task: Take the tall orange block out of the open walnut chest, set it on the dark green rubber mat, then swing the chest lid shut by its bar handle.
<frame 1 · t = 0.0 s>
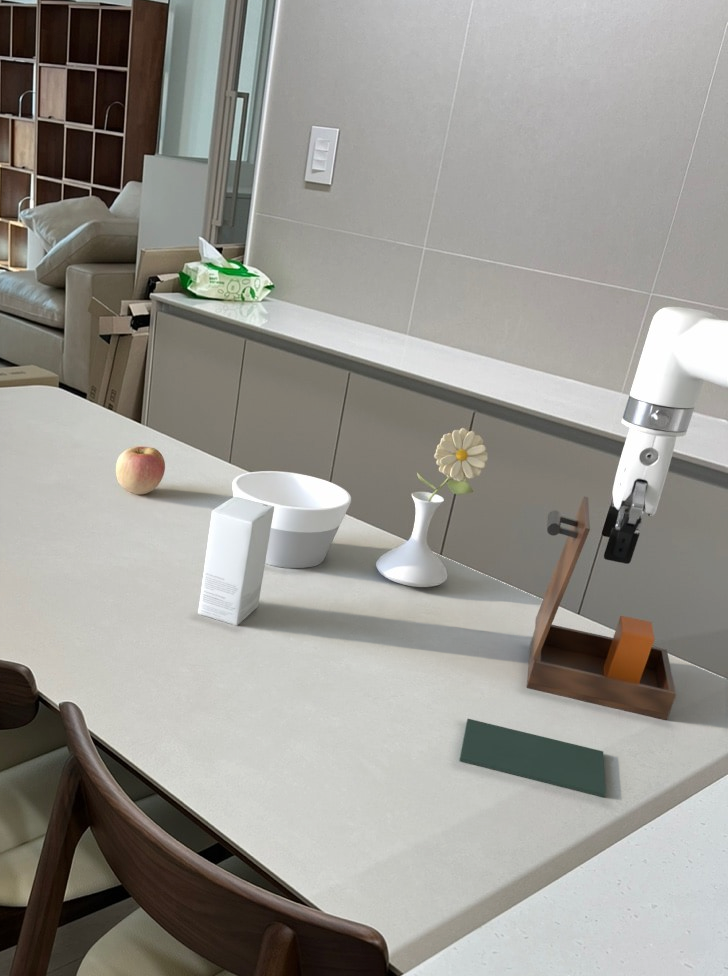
hand: (614, 548, 136), 18 cm above the table, tool pointing down, fingers open, 9 cm apart
lid: (546, 572, 140), point 13 cm above the table, hinge at 85.0°
apple: (137, 492, 194), on the table
chest: (594, 680, 144), on the table
orange block: (619, 680, 143), point 1 cm above the table, touching chest
mat: (532, 757, 123), on the table
bowl: (281, 553, 175), on the table
cosmetic box: (229, 612, 151), on the table
flower in vase: (414, 581, 170), on the table
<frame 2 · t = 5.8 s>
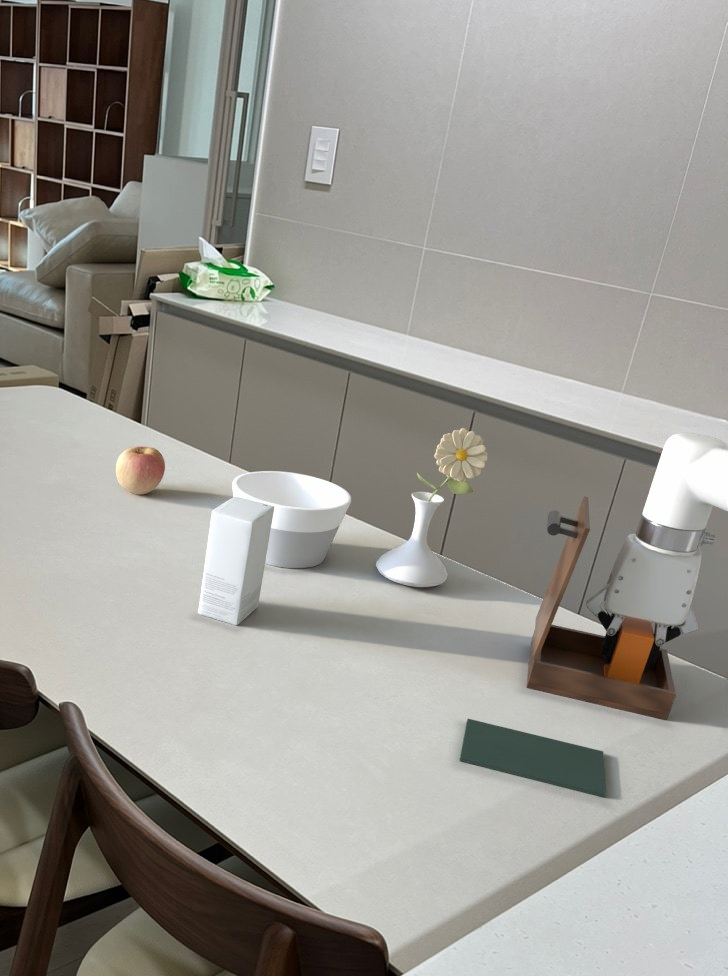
hand: (625, 662, 141), 4 cm above the table, tool pointing down, fingers closed on orange block, 4 cm apart
orange block: (619, 680, 143), point 1 cm above the table, touching chest, gripper
everything else where it was.
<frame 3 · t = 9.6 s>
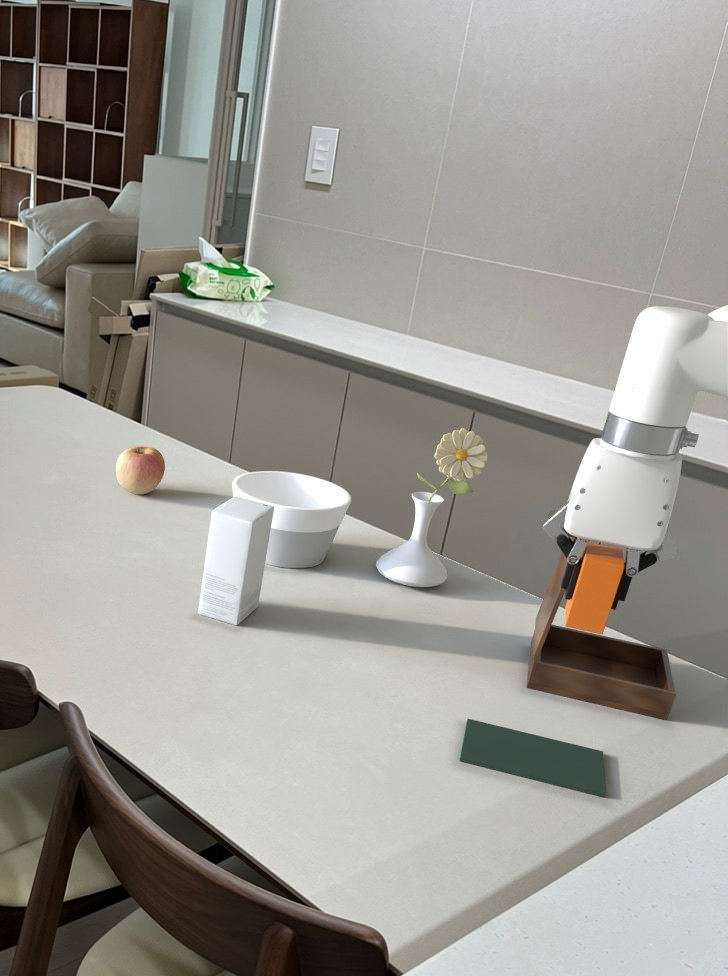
hand: (590, 598, 116), 19 cm above the table, tool pointing down, fingers closed on orange block, 4 cm apart
orange block: (583, 620, 118), point 17 cm above the table, touching gripper
everything else where it was.
when the fingers open (3 cm above the table, at t = 13.8 s): orange block stays where it is, resting on mat.
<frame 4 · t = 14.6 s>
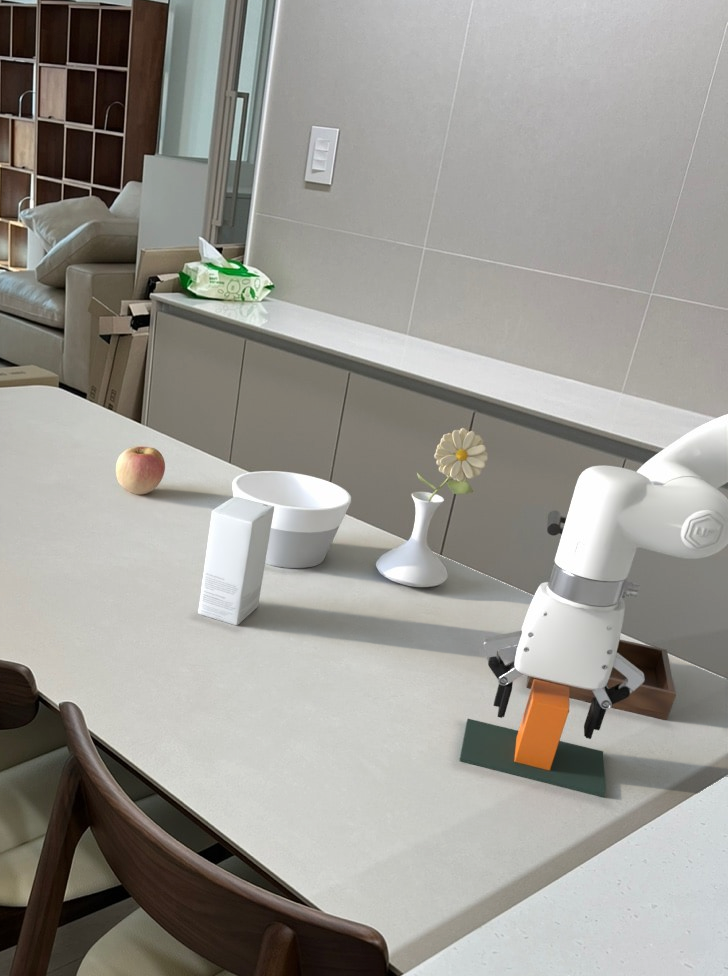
hand: (543, 722, 121), 5 cm above the table, tool pointing down, fingers open, 9 cm apart
orange block: (532, 754, 123), resting on mat
everything else where it was.
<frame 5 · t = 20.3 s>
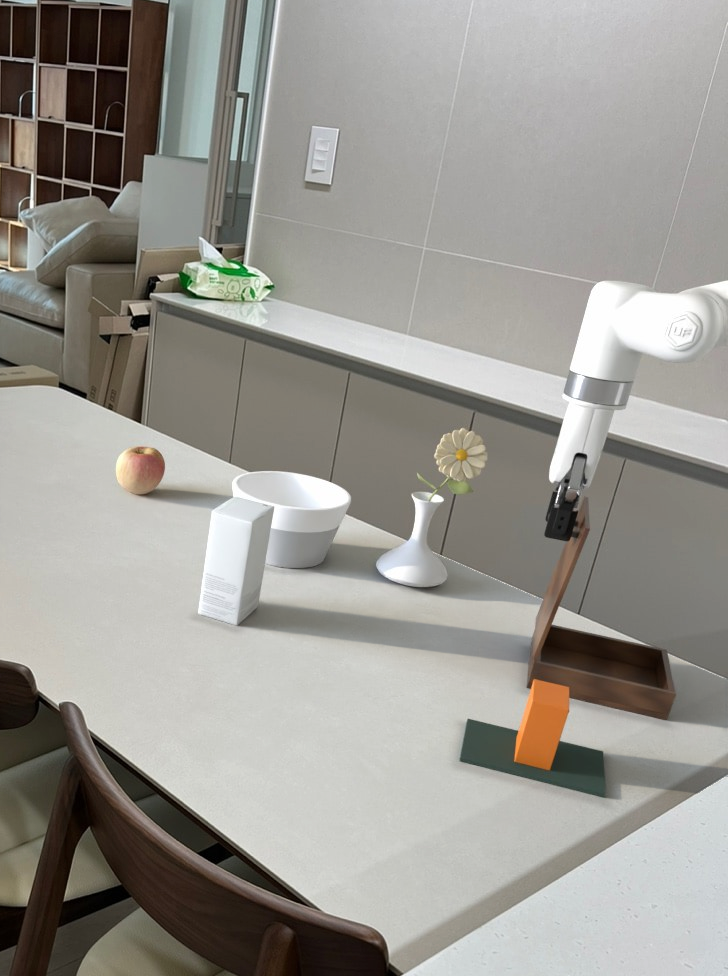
hand: (557, 529, 137), 19 cm above the table, tool pointing down, fingers closed on lid, 6 cm apart
lid: (546, 572, 140), point 13 cm above the table, hinge at 85.0°, touching gripper
everything else where it was.
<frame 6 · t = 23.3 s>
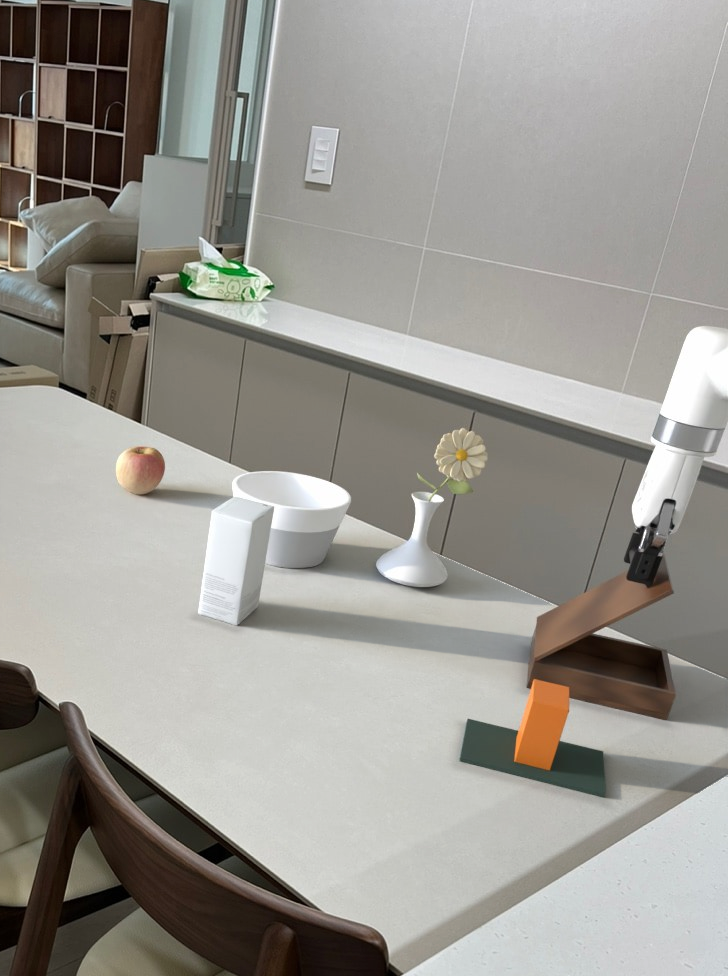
hand: (637, 571, 136), 16 cm above the table, tool pointing down, fingers closed on lid, 6 cm apart
lid: (592, 594, 139), point 12 cm above the table, hinge at 44.0°, touching gripper
everything else where it was.
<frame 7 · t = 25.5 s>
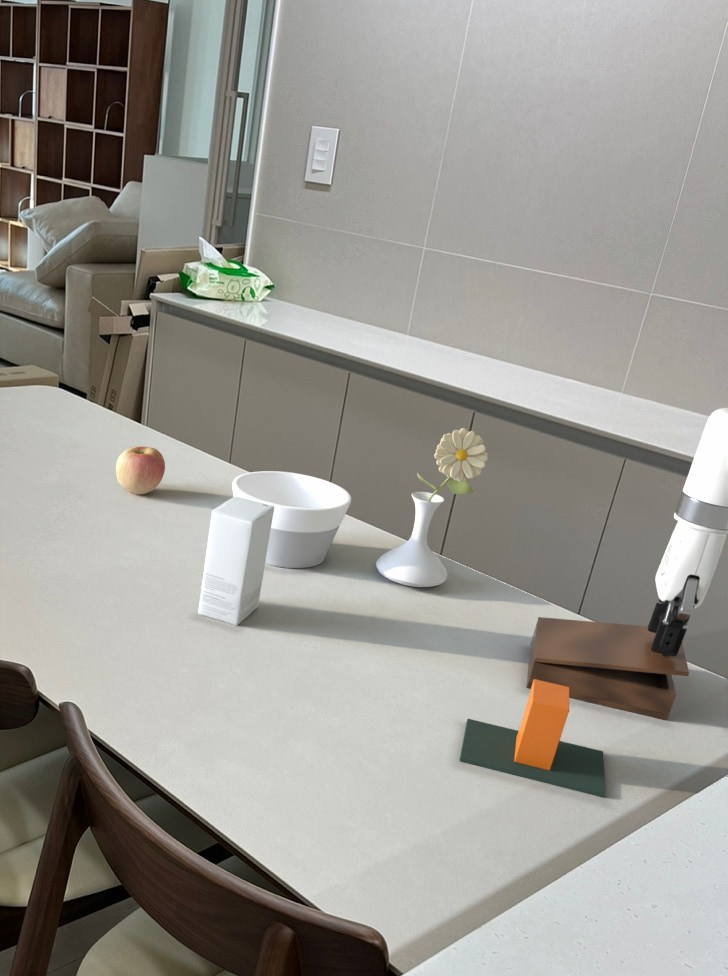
hand: (661, 641, 139), 7 cm above the table, tool pointing down, fingers closed on lid, 6 cm apart
lid: (610, 631, 140), point 7 cm above the table, hinge at 8.3°, touching gripper
everything else where it was.
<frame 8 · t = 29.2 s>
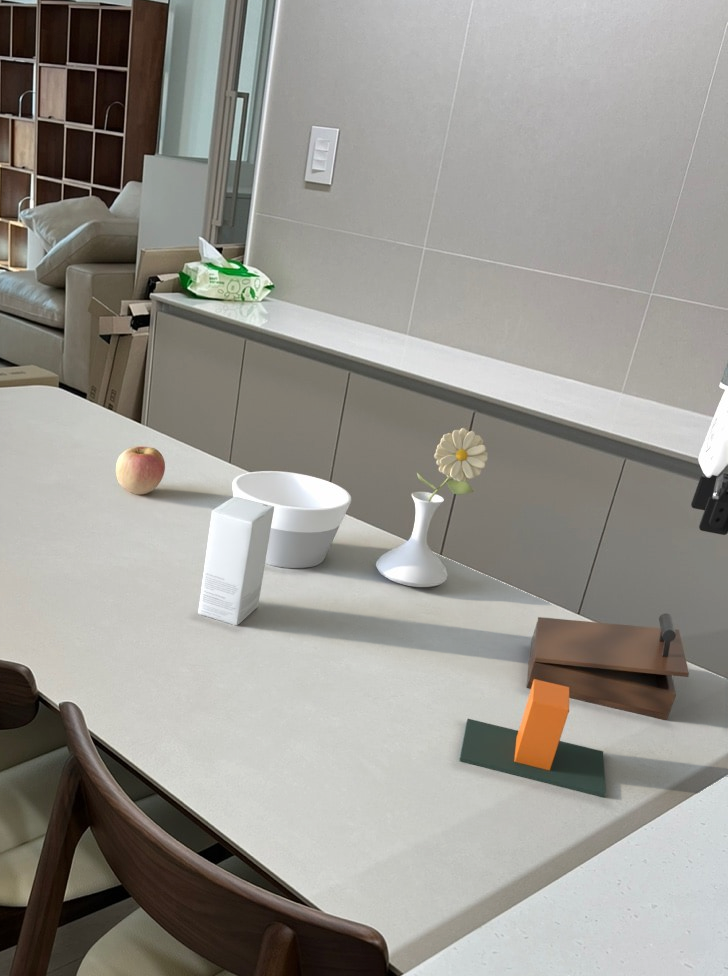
hand: (707, 520, 131), 24 cm above the table, tool pointing down, fingers open, 9 cm apart
lid: (610, 632, 140), point 7 cm above the table, hinge at 7.9°
everything else where it was.
at the end: orange block inside the target area on the mat (0.1 cm from its centre), point 0.5 cm above the mat's base; orange block tilted 0°; lid at +8° (first picture: +85°) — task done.
